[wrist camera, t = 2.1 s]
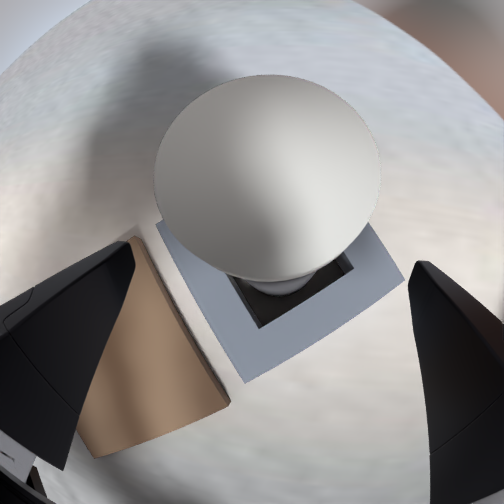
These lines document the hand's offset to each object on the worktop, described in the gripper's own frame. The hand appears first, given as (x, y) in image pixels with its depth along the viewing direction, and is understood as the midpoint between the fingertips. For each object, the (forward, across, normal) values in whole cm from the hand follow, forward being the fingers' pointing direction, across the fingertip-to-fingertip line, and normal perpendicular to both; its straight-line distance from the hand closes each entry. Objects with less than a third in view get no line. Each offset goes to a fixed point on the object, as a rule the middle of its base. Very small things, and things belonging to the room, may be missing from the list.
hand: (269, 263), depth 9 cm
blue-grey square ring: (+8, 0, +5) cm, 9 cm away
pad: (+2, +10, +11) cm, 15 cm away
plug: (+8, 0, +5) cm, 9 cm away
